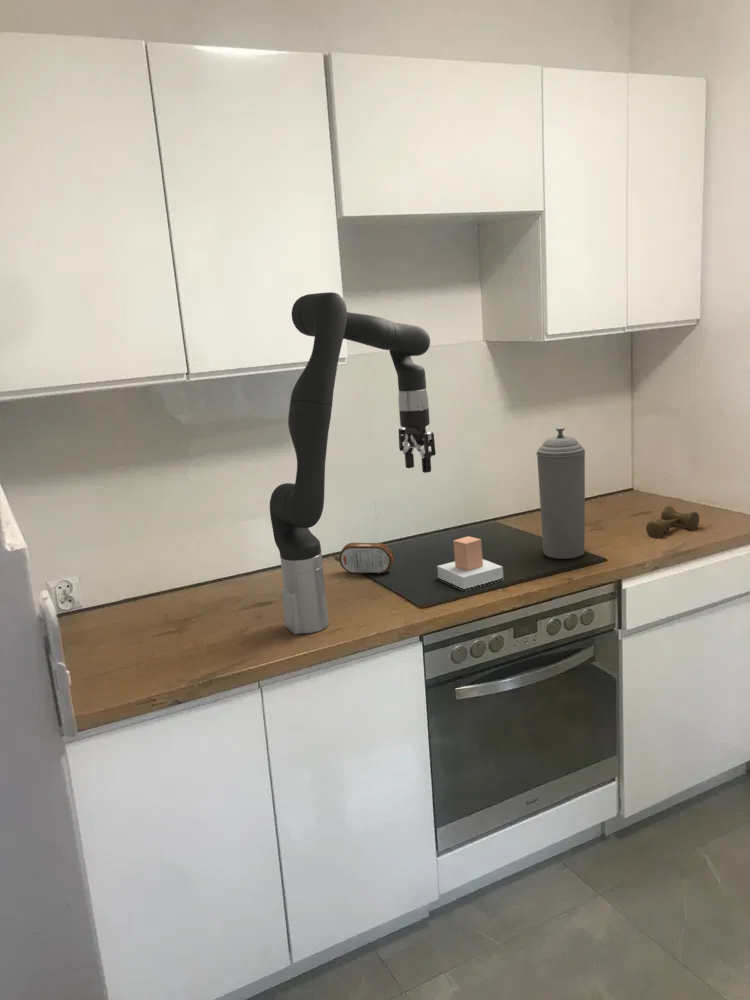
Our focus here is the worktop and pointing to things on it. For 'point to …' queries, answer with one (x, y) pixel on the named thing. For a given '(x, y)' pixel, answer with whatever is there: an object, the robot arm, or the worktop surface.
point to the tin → (366, 558)
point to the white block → (470, 574)
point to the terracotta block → (468, 553)
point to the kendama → (672, 522)
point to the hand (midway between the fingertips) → (418, 470)
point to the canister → (562, 496)
